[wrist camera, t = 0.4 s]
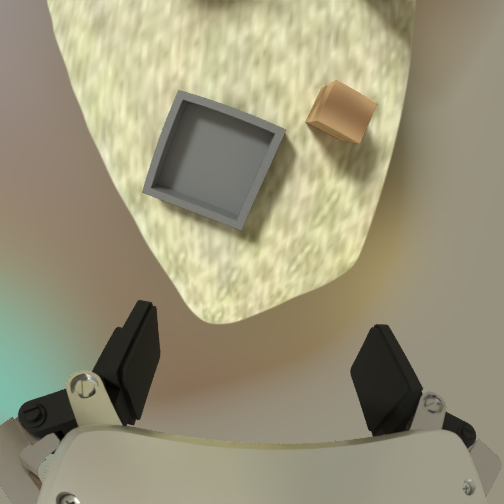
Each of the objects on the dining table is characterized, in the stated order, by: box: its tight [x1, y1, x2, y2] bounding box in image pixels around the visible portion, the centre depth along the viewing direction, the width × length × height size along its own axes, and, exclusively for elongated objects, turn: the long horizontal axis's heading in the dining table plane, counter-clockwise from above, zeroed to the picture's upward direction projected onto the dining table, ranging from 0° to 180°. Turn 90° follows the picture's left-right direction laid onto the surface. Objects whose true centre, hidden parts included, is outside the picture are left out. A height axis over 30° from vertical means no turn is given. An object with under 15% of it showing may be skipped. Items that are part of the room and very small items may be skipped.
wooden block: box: [305, 80, 377, 144], centre depth 29 cm, size 6×6×7 cm
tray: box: [142, 90, 286, 230], centre depth 33 cm, size 14×14×4 cm
